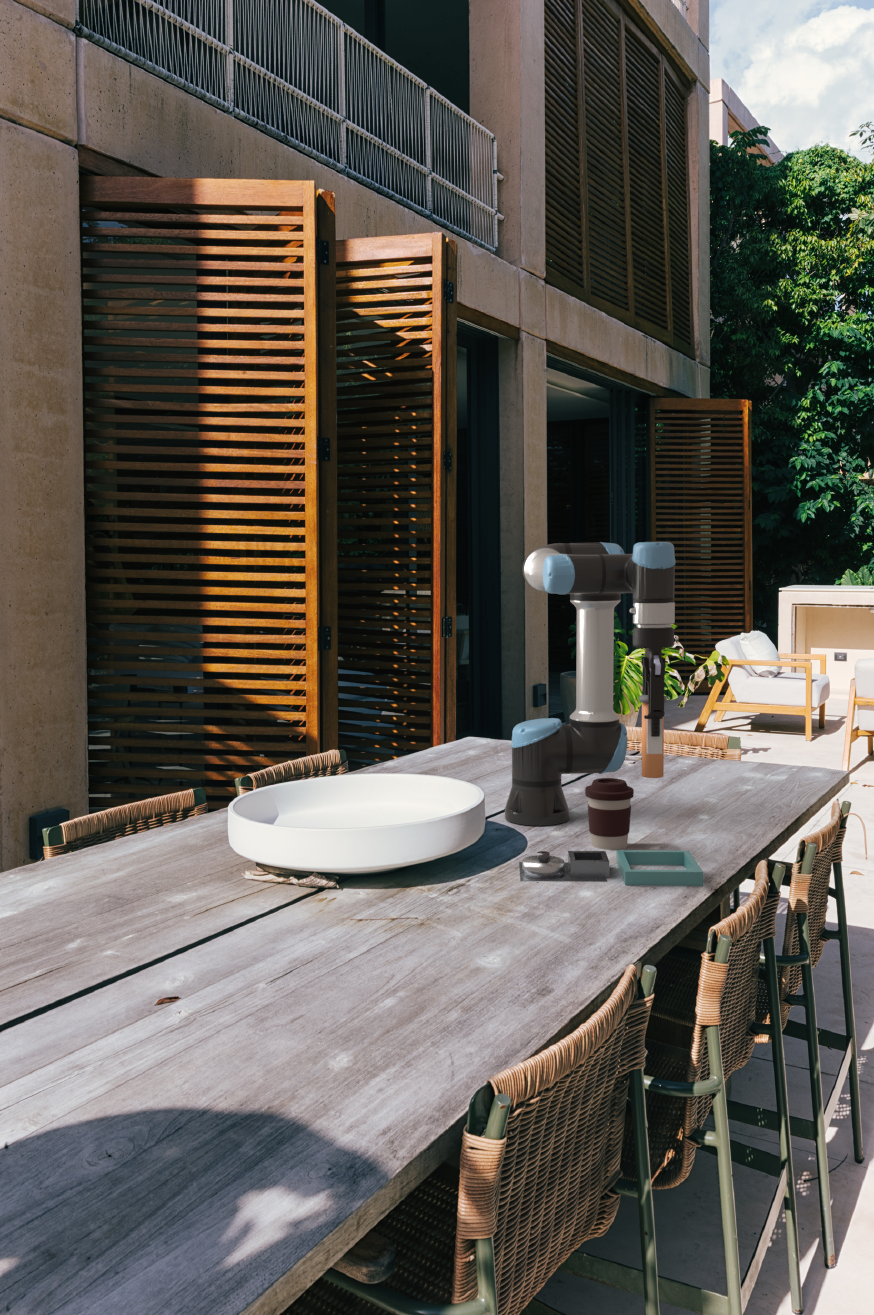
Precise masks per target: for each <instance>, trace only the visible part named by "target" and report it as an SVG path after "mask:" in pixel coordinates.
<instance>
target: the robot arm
mask: <svg viewBox="0 0 874 1315" xmlns="http://www.w3.org/2000/svg"><path fill="white" fill-rule="evenodd" d="M675 556H676V554H675V546H674V544H673V543H672V542H670V541H644V542H641V541H640V542H637V543H635V544H633V548H632V553H625V552H624V549H623V548H622V546H620V545H619V544H618V543H614V542H613V543H612V542H602V541H600V542H575V543H574V542H570V543H566V542H563V543H561V542H558V543H556V542H555V543H551V544H550V543H548V544H546V545H542V546H539V547H537V548H535V549H534V550H532V551H530V552H529V553H528V554H527V556H526V557H525V559H524V560H523V563H522V568H521V569H522V575H523V578H524V580H525V582H526V583H527V585H528V586H530V587H531V588H532V589H534V590H537V591H540V592H545V593H548V594H551V595H552V594H557V595H569V598H570V600H569V601H570V603H571V604H572V605H574V607H575V609H576V662H575V663H576V673H575V674H576V675H575V676H576V680H575V682H576V684H575V686H576V690H575V691H576V692H575V693H576V694H575V696H576V697H575V698H576V700H575V701H576V702H575V704H576V705H575V707H576V708H575V710H574V711H573V712H572V713H571V714H570V715H569V724H563V722H562V720H561V719H560V718H556V717H555V718H554V717H550V718H548V717H546V718H543V717H542V718H536V719H530V720H526V721H522V722H520V723H517V724H516V725H515V726H514V727H513V729H512V733H511V734H512V735H511V743H510V747H511V788H510V791H509V795H508V798H507V801H506V805H505V807H504V819H505V820H506V821H507V822H509V823H513V824H516V825H523V826H535V827H536V826H538V827H541V826H553V825H560V824H562V823H563V824H564V823H565V822H567V821H569V819H570V808H569V805H568V803H567V800H566V796H565V793H564V790H563V787H562V775H572V774H574V775H575V774H579V775H580V774H598V775H602V774H606V773H615V772H618V771H619V770H621V769H622V766H623V765H624V762H625V760H626V755H627V752H628V750H627V749H628V736H627V735H628V730H627V726H626V725H625V724H624V723H622V722H620V716H619V715H618V714H617V713H616V711H615V710H614V650H615V649H614V644H615V643H614V640H615V639H614V636H615V635H614V633H615V631H614V630H615V627H614V626H615V625H614V624H615V619H614V618H615V616H614V615H615V607H616V606H617V605H619V603H620V602H621V601H622V599H621V594H632V603H633V604H632V606H633V607H631V608H630V609H629V613H630V614H633V615H632V624H634V625H636V626H634V627H633V628H632V646H633V647H634V648H638V649H644V656H641V658H640V661H641V666H642V668H641V670H642V671H641V673H642V674H641V676H642V695H648V715H645V716H644V719H647V754H662V717H664V718H665V703H664V695H665V675H666V674H665V673H666V664H667V663H666V657H664V656H663V652H662V649H669V648H673V647H674V646H675V629H674V627H673V626H672V625H674V624H675V620H676V619H675V616H676V615H675V614H676V613H675V612H676V610H675V609H676V608H675V607H676V602H675V583H676V582H675V581H676V579H675V578H676V576H675V574H676V572H675V570H676V568H675V567H676V563H677V561H676V558H675Z"/></svg>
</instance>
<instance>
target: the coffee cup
mask: <svg viewBox="0 0 874 1315" xmlns="http://www.w3.org/2000/svg"><path fill="white" fill-rule="evenodd" d="M584 790H585V791H584V796H585V797H586V798H587V800H588V803H587V815H588V817H587V818H588V829H589V830H588V831H589V833H590V841H591V842H590V844H591V847H593V848H597V849H599V850H605V851H606V850H607V851H608V850H609V851H615V850H624V849H625V848H627V847H628V842H629V841H628V840H629V834H630V827H631V826H630V825H631V815H632V814H631V812H632V804H631V800H632V798H633V797H634V795H635V793H634V791H635V790H634V787H631V786H629V785H628V784H627V781H625V780H624V779H622V778H616V777H615V778H614V777H602V778H601V777H600V778H596V779H593V780H592V783H591V784H590V785H588V786H586V787H585V788H584Z"/></svg>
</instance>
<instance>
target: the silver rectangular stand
mask: <svg viewBox="0 0 874 1315" xmlns="http://www.w3.org/2000/svg"><path fill="white" fill-rule="evenodd" d="M518 864H519V866H518V867H519V878H520V879H519V882H571V883H572V882H574V883H575V882H576V883H577V882H579V883H580V882H581V883H583V882H584V883H585V882H588V883H590V882H593V883H595V882H596V883H598V882H599V883H600V882H601V883H605V882H608V878H610V860H609V858H608V854H607V851H606V850H567V862H566V861H565V860H564V859H563V858H562V857H559V856H556V855H555V856H554V855H551V854H550V851H545V850H541V851H540V850H539V851H537V852H536V855H529V856H526V857H524V858H522V860H521V861H518Z"/></svg>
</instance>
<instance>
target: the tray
mask: <svg viewBox="0 0 874 1315" xmlns="http://www.w3.org/2000/svg"><path fill="white" fill-rule="evenodd" d="M615 856H616V858H615V859H616V861H615V862H616V865H617V867H618V871H619V873H620V875H621V876H620V877H621V879H622V880H623V883H624V885H625V886H664V887H665V886H676V887H677V886H678V887H679V886H681V887H685V886H686V887H687V886H690V887H692V886H693V887H694V886H697V887H699V886H700V887H703V886H704V871H703V869H702V868H701V866H700V865H699V863H698V862H697V861H696V859H695V857H694V856H693V854H692V853H691V852H690V850H683V849H682V850H679V849H678V850H675V849H674V850H669V849H668V850H666V849H665V850H660V849H659V850H657V849H654V850H652V849H651V850H649V849H648V850H644V849H640V850H639V849H637V850H636V849H628V850H626V849H617V850H616V855H615ZM631 866H683V867H684V869H631Z"/></svg>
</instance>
